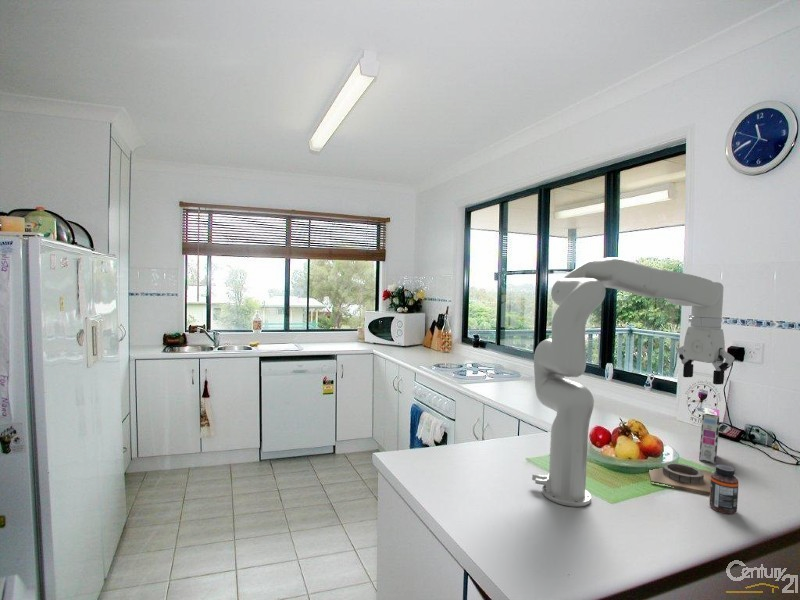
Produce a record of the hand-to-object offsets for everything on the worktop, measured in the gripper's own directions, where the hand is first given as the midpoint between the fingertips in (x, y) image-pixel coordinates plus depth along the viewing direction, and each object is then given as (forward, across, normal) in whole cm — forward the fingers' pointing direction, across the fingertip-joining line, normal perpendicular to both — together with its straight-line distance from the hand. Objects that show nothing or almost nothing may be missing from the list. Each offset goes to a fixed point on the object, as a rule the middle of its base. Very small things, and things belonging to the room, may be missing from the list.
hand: (702, 380), depth 132 cm
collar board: (+31, -3, -2) cm, 31 cm away
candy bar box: (+31, -16, +24) cm, 42 cm away
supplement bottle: (+31, +14, -8) cm, 35 cm away
